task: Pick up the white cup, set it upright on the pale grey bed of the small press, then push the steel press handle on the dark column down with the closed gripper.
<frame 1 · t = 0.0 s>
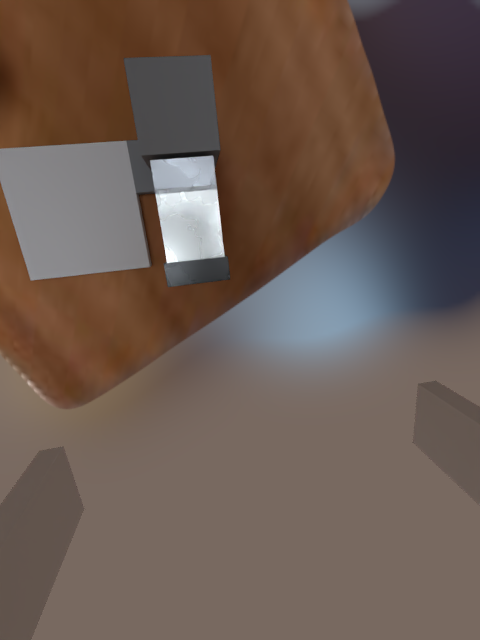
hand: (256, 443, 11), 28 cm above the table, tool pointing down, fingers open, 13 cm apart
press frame: (82, 214, 33), on the table
press handle: (191, 225, 22), point 14 cm above the table, slide at 0.0 cm
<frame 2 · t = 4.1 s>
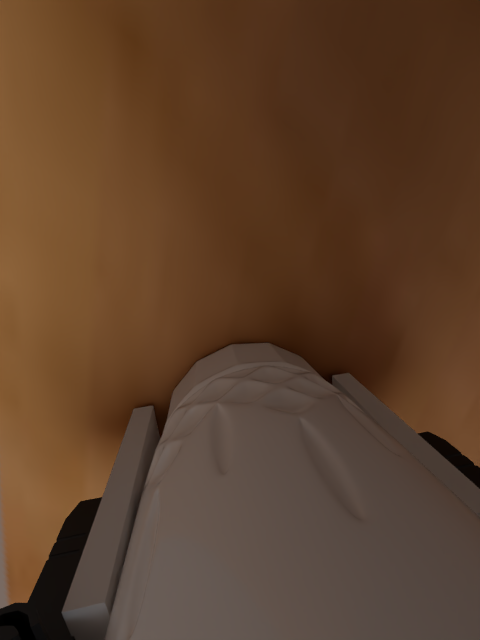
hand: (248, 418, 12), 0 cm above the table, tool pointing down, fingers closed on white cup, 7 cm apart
white cup: (247, 411, 13), on the table, touching gripper
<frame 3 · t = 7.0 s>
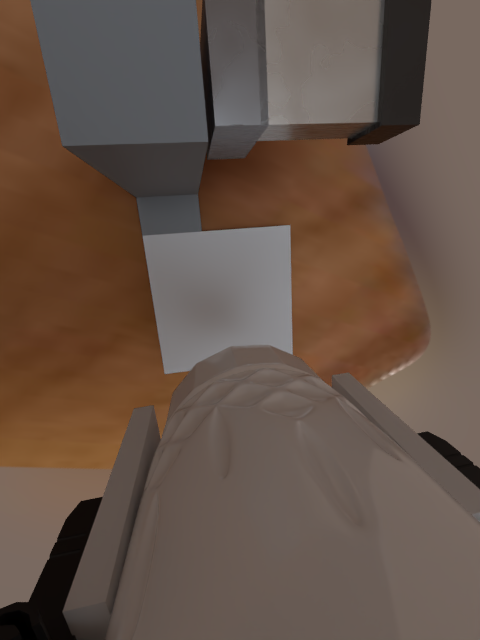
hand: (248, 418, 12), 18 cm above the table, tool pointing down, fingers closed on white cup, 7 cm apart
white cup: (246, 412, 13), point 17 cm above the table, touching gripper
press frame: (223, 299, 29), on the table
press handle: (297, 90, 13), point 14 cm above the table, slide at 0.0 cm
when the fingers open (3 cm above the table, at t = 10.2 s): white cup drops 1 cm, resting on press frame.
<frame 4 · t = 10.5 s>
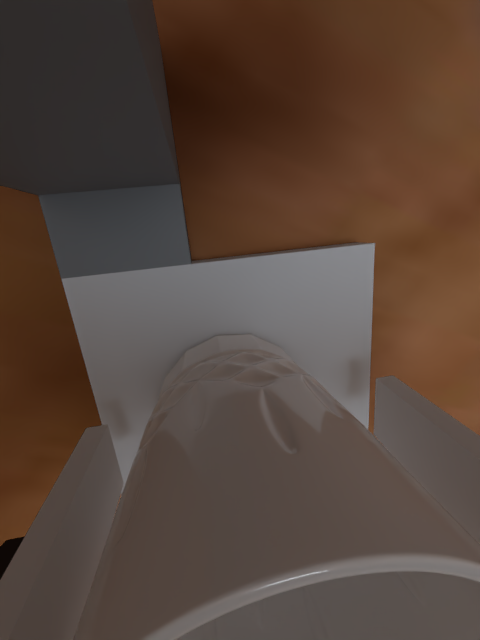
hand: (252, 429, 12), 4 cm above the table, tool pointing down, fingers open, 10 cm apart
white cup: (233, 397, 14), point 1 cm above the table, touching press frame
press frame: (238, 382, 15), on the table
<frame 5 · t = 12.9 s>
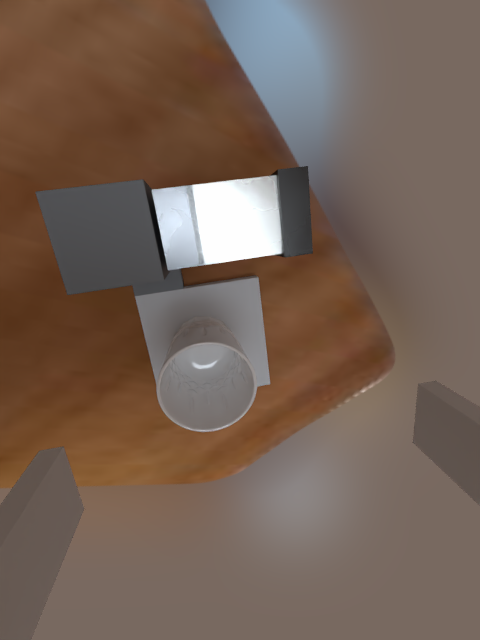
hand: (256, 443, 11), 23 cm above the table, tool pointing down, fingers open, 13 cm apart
white cup: (204, 343, 33), point 1 cm above the table, touching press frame
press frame: (207, 339, 34), on the table
press handle: (230, 223, 18), point 14 cm above the table, slide at 0.0 cm
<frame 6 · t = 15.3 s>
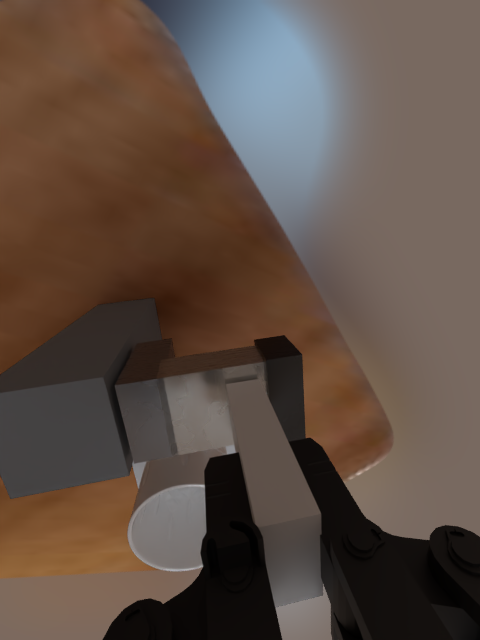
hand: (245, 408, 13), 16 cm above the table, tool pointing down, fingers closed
white cup: (188, 435, 30), point 1 cm above the table, touching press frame
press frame: (193, 427, 31), on the table
press handle: (212, 385, 15), point 14 cm above the table, slide at 0.1 cm, touching gripper
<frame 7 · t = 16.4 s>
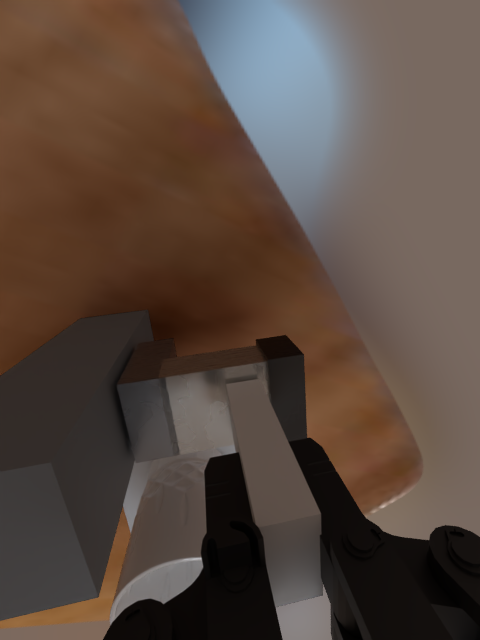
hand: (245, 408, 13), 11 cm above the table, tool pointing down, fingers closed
white cup: (189, 470, 26), point 1 cm above the table, touching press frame
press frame: (194, 458, 27), on the table
press handle: (214, 384, 15), point 9 cm above the table, slide at 4.8 cm, touching gripper
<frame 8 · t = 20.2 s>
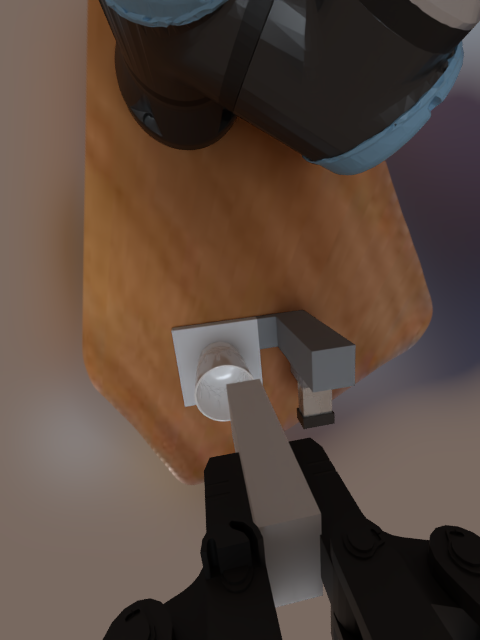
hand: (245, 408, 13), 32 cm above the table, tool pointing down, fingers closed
white cup: (219, 360, 46), point 1 cm above the table, touching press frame
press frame: (219, 360, 47), on the table
press handle: (310, 390, 41), point 9 cm above the table, slide at 4.8 cm
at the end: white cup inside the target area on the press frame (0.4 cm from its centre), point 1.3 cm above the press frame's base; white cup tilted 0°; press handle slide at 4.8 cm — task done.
